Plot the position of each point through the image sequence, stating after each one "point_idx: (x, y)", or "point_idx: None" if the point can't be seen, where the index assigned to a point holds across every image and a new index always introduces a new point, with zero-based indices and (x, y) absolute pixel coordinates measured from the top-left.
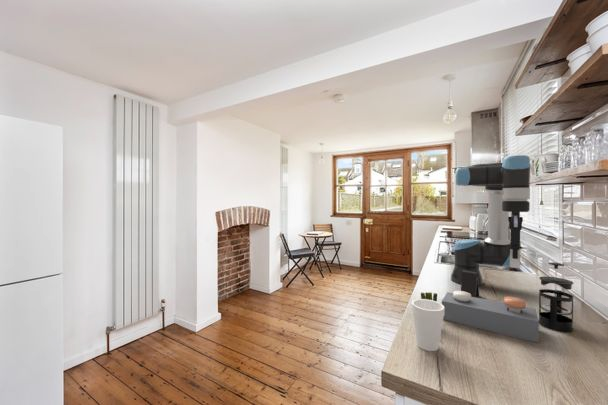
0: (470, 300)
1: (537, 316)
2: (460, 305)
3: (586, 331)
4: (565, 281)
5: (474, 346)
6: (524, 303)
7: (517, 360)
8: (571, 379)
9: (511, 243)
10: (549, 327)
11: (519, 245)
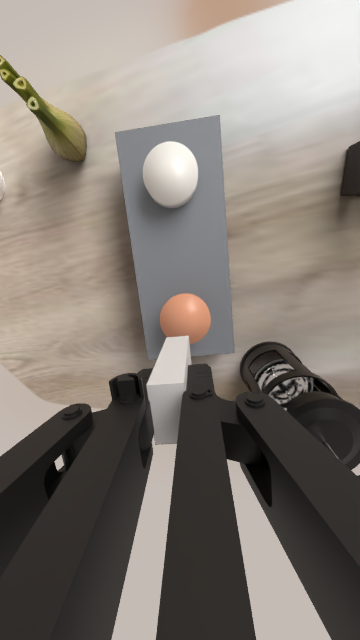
0: (167, 207)
1: None
2: (123, 191)
3: None
4: None
5: (54, 256)
6: None
7: (61, 320)
8: (65, 378)
9: (26, 441)
10: (243, 360)
11: (54, 484)
